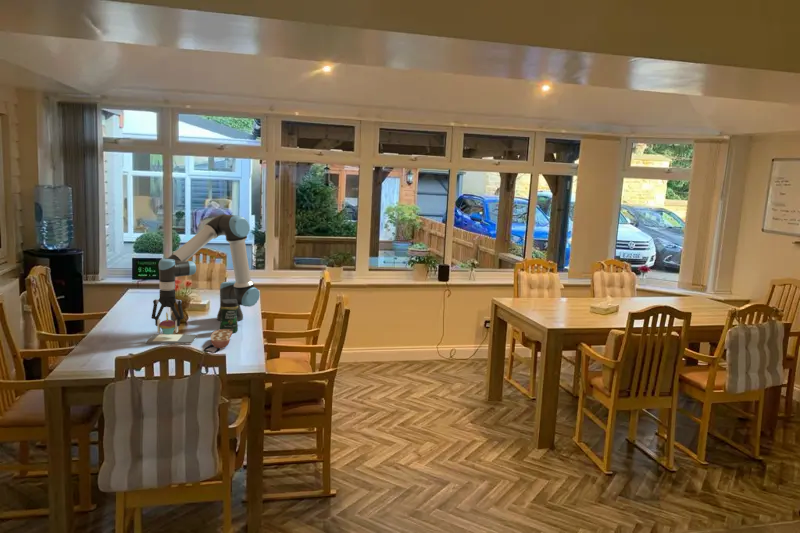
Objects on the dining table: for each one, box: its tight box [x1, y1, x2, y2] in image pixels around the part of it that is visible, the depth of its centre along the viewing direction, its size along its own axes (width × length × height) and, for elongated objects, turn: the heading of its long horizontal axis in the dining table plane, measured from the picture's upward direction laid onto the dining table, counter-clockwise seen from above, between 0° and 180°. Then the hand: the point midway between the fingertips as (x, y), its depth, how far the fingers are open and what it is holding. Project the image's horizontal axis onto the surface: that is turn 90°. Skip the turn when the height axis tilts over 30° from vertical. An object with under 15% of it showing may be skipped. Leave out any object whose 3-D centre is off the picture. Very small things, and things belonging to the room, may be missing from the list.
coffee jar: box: [219, 299, 239, 334], centre depth 325 cm, size 10×8×19 cm
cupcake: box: [159, 312, 175, 335], centre depth 304 cm, size 9×8×12 cm
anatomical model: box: [210, 328, 233, 349], centre depth 303 cm, size 23×10×5 cm, turn 11°
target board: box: [145, 333, 198, 345], centre depth 306 cm, size 22×14×2 cm, turn 97°
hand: (167, 332), depth 305 cm, fingers closed on cupcake, 8 cm apart
